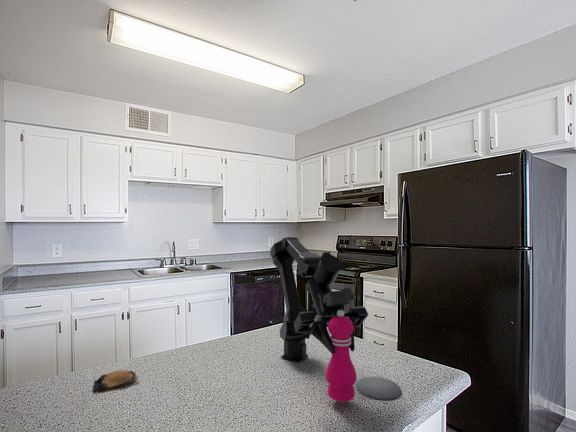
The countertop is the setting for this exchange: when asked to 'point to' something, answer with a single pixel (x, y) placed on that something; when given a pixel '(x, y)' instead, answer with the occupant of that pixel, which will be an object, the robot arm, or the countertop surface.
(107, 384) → the brown oval lump
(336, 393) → the pepper mill
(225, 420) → the countertop surface
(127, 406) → the countertop surface
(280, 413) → the countertop surface
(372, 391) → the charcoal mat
